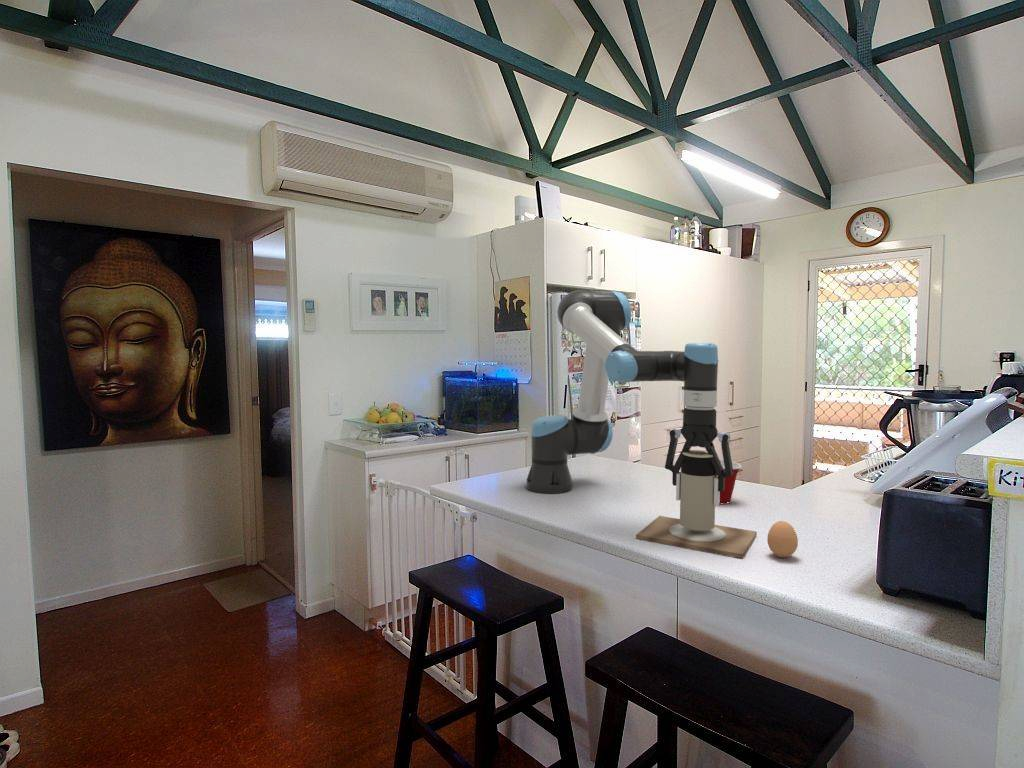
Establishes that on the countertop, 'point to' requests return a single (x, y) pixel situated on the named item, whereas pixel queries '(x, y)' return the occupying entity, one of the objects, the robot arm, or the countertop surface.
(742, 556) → the walnut board
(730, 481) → the plastic cup
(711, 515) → the travel mug
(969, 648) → the countertop surface
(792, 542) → the egg
